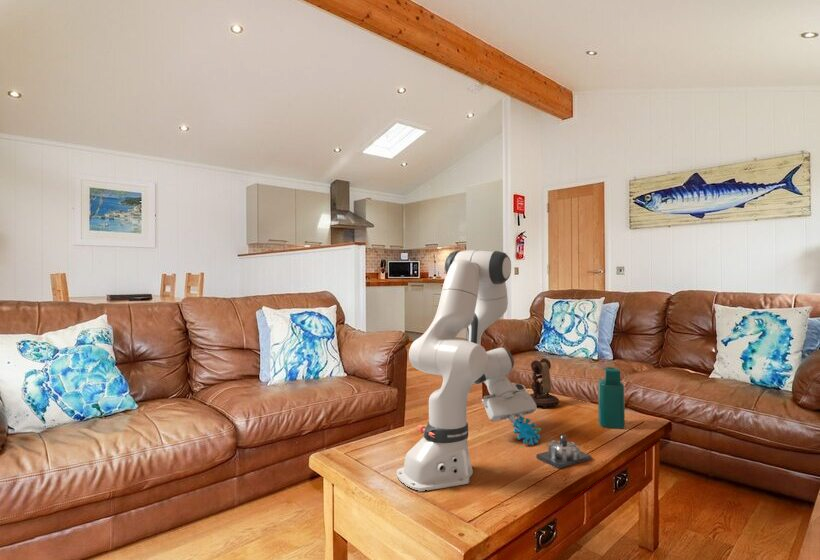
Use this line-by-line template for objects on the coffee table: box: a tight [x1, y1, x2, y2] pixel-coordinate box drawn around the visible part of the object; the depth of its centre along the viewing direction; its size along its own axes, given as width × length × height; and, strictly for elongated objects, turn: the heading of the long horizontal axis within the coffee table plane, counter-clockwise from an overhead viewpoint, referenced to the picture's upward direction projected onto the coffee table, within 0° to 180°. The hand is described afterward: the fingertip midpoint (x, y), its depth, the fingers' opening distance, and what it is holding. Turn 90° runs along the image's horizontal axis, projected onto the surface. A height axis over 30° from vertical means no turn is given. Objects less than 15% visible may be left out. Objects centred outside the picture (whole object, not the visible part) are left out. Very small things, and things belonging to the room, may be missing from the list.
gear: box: [512, 416, 542, 446], centre depth 153 cm, size 11×6×10 cm
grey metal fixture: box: [536, 434, 592, 470], centre depth 138 cm, size 14×9×7 cm, turn 118°
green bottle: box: [597, 366, 626, 429], centre depth 167 cm, size 10×8×22 cm
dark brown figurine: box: [529, 358, 560, 410], centre depth 196 cm, size 15×15×20 cm
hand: (521, 427), depth 154 cm, fingers closed, pressing on gear
